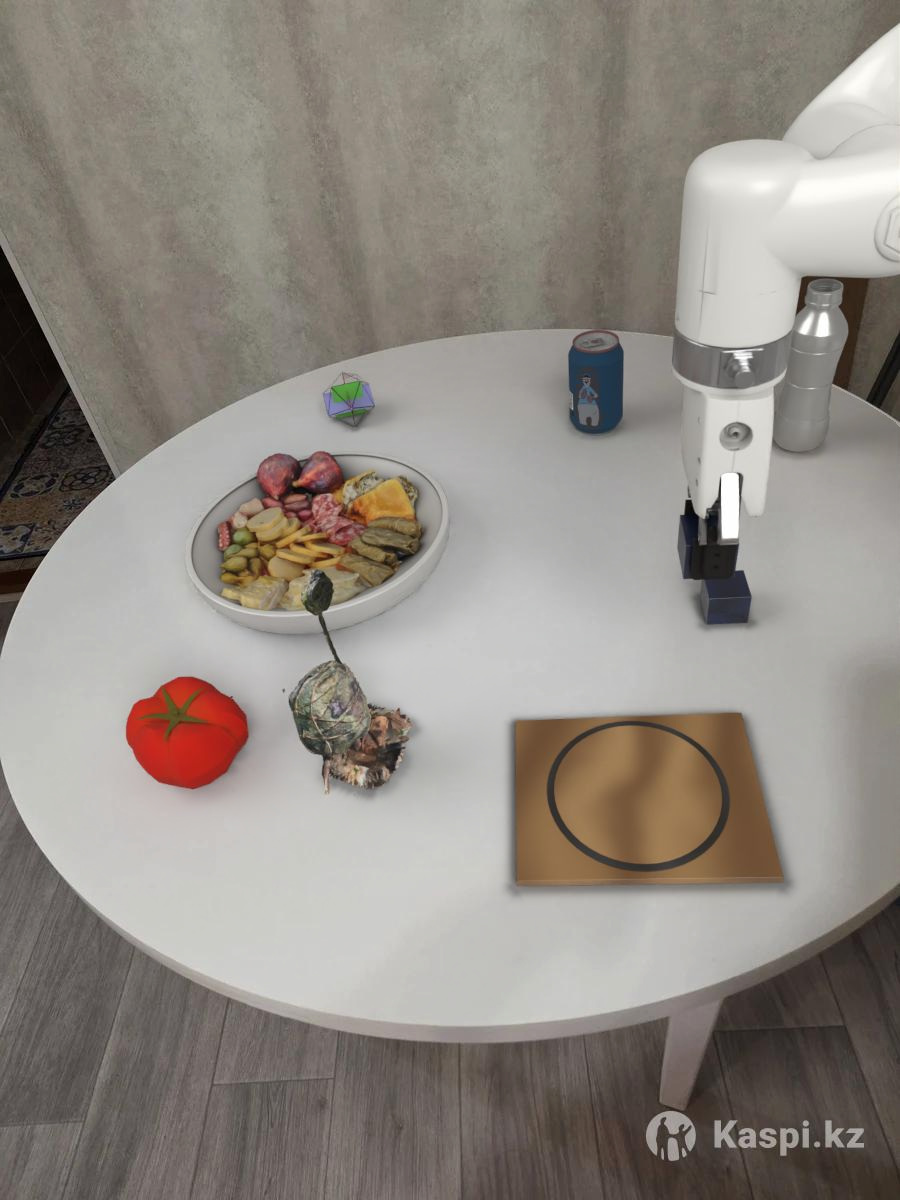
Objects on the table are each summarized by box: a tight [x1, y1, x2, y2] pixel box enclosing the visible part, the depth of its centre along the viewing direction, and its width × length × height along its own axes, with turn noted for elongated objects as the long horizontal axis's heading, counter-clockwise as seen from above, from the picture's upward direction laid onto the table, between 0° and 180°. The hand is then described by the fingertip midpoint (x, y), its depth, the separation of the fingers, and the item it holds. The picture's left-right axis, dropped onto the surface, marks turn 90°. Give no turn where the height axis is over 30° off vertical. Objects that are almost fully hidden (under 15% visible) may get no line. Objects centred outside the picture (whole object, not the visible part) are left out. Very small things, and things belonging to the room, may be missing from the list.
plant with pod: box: [281, 569, 414, 796], centre depth 72 cm, size 8×11×20 cm
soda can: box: [567, 329, 625, 436], centre depth 112 cm, size 7×7×12 cm
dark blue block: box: [699, 569, 753, 625], centre depth 86 cm, size 4×4×4 cm
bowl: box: [184, 450, 451, 635], centre depth 98 cm, size 30×30×8 cm
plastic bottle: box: [772, 278, 849, 453], centre depth 100 cm, size 6×7×20 cm
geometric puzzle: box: [321, 371, 376, 429], centre depth 122 cm, size 7×7×8 cm
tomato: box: [125, 676, 250, 790], centre depth 79 cm, size 10×11×6 cm
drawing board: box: [515, 712, 784, 887], centre depth 72 cm, size 20×16×1 cm
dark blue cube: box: [676, 514, 740, 580], centre depth 70 cm, size 4×4×4 cm
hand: (706, 555), depth 70 cm, fingers closed on dark blue cube, 4 cm apart
